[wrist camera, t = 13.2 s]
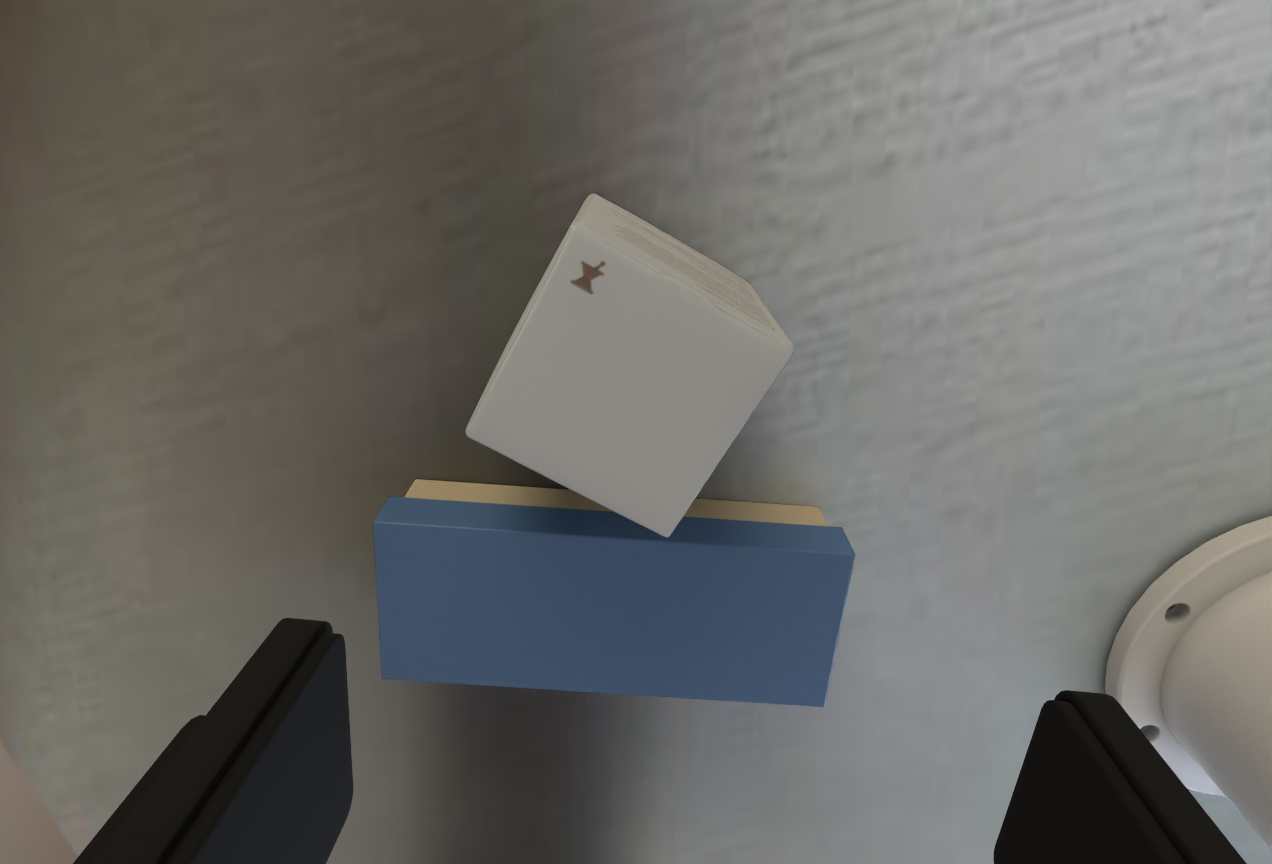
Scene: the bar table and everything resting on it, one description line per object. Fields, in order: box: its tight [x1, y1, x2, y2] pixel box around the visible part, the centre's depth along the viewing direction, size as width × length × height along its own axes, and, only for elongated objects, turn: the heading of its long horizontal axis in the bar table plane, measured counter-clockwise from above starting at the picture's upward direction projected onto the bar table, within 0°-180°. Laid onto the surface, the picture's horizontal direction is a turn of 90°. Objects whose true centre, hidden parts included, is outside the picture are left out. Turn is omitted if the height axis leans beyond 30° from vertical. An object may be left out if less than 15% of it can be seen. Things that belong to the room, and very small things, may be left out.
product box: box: [466, 194, 795, 537], centre depth 22 cm, size 6×6×7 cm
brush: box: [373, 479, 855, 707], centre depth 27 cm, size 15×6×4 cm, turn 86°
